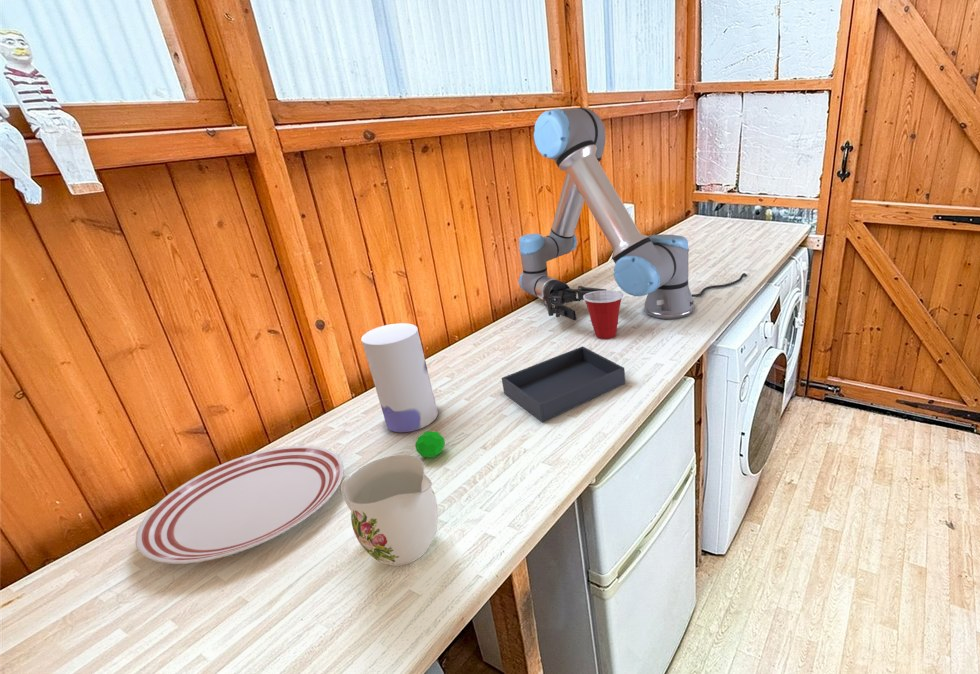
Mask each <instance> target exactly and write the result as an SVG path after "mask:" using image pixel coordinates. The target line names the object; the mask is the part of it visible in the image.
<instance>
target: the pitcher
mask: <svg viewBox="0 0 980 674" xmlns="http://www.w3.org/2000/svg"><path fill="white" fill-rule="evenodd" d="M425 470H426V469H425V463H424V461H423V460H422V459H421V458H419V457H417V456H415V455H411V454H394V455H389V456H384V457H382V458H381V457H380V458H378V459H375V460H373V461H371V462H369V463H367V464H365V465H363V466H362V467H361V468H359V469H358V470H356V471H355V472H354V473H352V474H351V475H348V476H347V477H345V478H344V479H342V480H341V483H340V491H341V494H342V497H343V500H344V502H345V505H346V506H347V508H348V509H349V510H350V522H351V527H352V530H353V534H354V535H355V537H356V539H357V541H358V543H359V544H360V546H361V548H363V549H364V550H365V552H366V553H367V554H368V555H370V556H371V557H372V558H374V559H375V560H376V561H378V562H380V563H382V564H385V565H389V566H392V567H400V566H405V565H408V564H411V563H413V562H415V561H417V560H418V559H420V558H422V556H424V554H425V553H426V552H427V551H428V550H429V548H430V547H431V545H432V543H433V541H434V538H435V536H436V533H437V528H438V523H439V522H438V521H439V507H438V501H437V498H436V494H435V492H434V490H433V488H432V484H433V483H432V481H431V479H430V477H428V476H427V475H426V474H425V473H426V471H425Z"/></svg>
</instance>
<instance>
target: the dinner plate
mask: <svg viewBox="0 0 980 674" xmlns="http://www.w3.org/2000/svg"><path fill="white" fill-rule="evenodd" d="M344 467H345V466H344V463H343V460H342V459H341V458H340V456H339V455H338V454H336V453H335V452H334V451H332V450H330V449H327V448H325V447H320V446H313V445H289V446H288V445H287V446H280V447H274V448H270V449H264V450H261V451H256V452H253V453H250V454H247V455H243V456H241V457H237V458H235V459H232V460H229V461H227V462H224V463H222V464H219V465H217V466H215V467H212V468H211V469H208V470H206V471H205V472H202V473H200V474H199V475H197V476H194V477H193V478H191V479H190V480H188V481H186V482H185V483H183V484H181V485H179V486H178V487H177V488H176V489H174V490H172V491H171V492H169V494H167V495H166V496H165V497H164V498H162V499H161V500H160V501H159V502H157V503H156V504H155V505H154V506H153V507H152V508H151V510H150V511H149V512H148V513H147V514H145V515H146V516H145V517H144V518H143V519H142V521H141V523H140V524H139V526H138V528H137V531H136V535H135V545H136V548H137V550H138V552H139V553H140V554H141V555H142V556H143V557H145V558H147V559H148V560H151V561H153V562H157V563H162V564H169V565H183V564H185V565H186V564H196V563H201V562H208V561H213V560H217V559H221V558H225V557H228V556H232V555H235V554H239V553H241V552H243V551H247V550H249V549H252V548H254V547H257V546H260V545H262V544H263V543H266V542H268V541H271V540H273V539H274V538H276V537H278V536H280V535H282V534H284V533H286V532H287V531H289V530H291V529H292V528H294V527H295V526H297V525H299V524H300V523H301V522H303V521H305V520H306V519H307V518H308V517H310V516H312V515H313V514H314V513H316V512H317V511H318V510H319V509H320V508H321V507H323V506H324V505H325V504H326V503H327V502H328V501H329V500H330V499H331V498H332V496H333V495H334V494H335V492H336V491H337V489H338V488H339V486H340V485H341V483H342V481H343V477H344V472H345V468H344Z"/></svg>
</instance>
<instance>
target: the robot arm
mask: <svg viewBox="0 0 980 674" xmlns="http://www.w3.org/2000/svg"><path fill="white" fill-rule="evenodd" d="M606 138H607V137H606V130H605V125H604V122H603V120H602V119H601V117H600V116H599V114H597V113H596V112H595V111H593V110H592V109H590V108H587V107H573V108H553V109H550V110H545V111H543V112H542V113H540V115H539V116H538V117H537V119H536V121H535V123H534V131H533V139H534V144H535V147H536V149H537V151H538V152H539V153H540V155H541V156H543V157H545V158H547V159H549V160H553V161H554V163H555V164H556V166H557V168H558V169H559V170H560V171H562V172H565V177H564V181H563V184H562V187H561V192H560V195H559V199H558V203H557V205H556V210H555V214H554V217H553V221H552V224H551V228H550V232H549V234H547V235H545V236H543V235H542V234H540V233H528V234H523V235H520V237H519V238H518V244H519V245H518V246H519V247H518V248H519V249H518V250H519V254H520V260H521V267H522V272H521V273H520V275H519V279H518V285H519V287H520V289H521V290H522V291H523V292H525V293H526V294H528V295H530V296H533V297H536V298H538V299H539V300H542V301H543V306H544V307H545V308H546V311H547V313H548V316H549V317H553V316H554V315H555V318H561V317H565V318H567V319H569V320H571V321H573V322H576V321H577V313H576V310H575V309H573V308H570V307H568V306H565V304H569V303H573V302H581V301H585V300H584V299H583V295H585V294H586V293H590V292H594V291H602V290H607V289H606V288H599V287H598V288H597V287H588V286H582V285H578V286H577V289H575V288H571V287H570V286H569V285H568V284H567V283H566V282H564V281H561V280H560V279H557V278H555V277H551V276H549V274H548V265H547V264H548V263H547V262H549V261H552V260H554V259H556V258H560V257H562V256H565V255H568V254H570V253H571V252H573V251H574V250H575V249H576V248H577V246H578V239H577V236H576V229H577V226H578V223H579V220H580V216H581V213H582V210H583V207H584V203H585V204H586V206H587V207H588V210H589V211H590V212H591V215H592V216H593V217H594V220H595V221H596V223H597V225H598V226H599V228H600V230H601V232H602V233H603V235H604V237H605V238H606V240H607V241H608V243H609V244H610V247H611V249H612V255H611V259H612V261H613V263H614V268H613V271H614V273H613V277H614V280H615V282H616V284H617V286H618V287H619V288H620V289H621V290H622V291H623V292H624V293H625V294H627V295H630V296H633V297H644V296H646V297H645V298H646V299H645V301H644V312H645V314H646V315H648V316H649V317H652V318H654V319H660V320H677V319H682V318H686V317H688V316H690V315H692V314H693V313H694V312H695V302H694V298H699V297H701V296H702V295H704V293H705V291H707V290H711V289H717V288H725V287H730V286H733V285H735V284H738V283H739V282H741V281H742V280H743V278H744V277H748V275H747V273H745V272H743V273H742V274H741V275H740V277H739V278H738V279H736V280H734V281H732V282H728V283H725V284H724V283H723V284H714V285H709V286H706V287H704V288H703V289H702V290H701V291H700V292H699V293H693V294H692V292H691V289H690V286H689V251H690V248H689V241H688V239H687V237H685V236H682V235H678V234H664V233H663V234H652V235H650V236H649V235H645V234H642V233H641V231H640V230H639V228H638V227H637V224H636V223H635V222H634V219H633V218H632V216H631V214H630V213H629V211H628V209H627V208H626V205H625V204H624V203H623V200H622V199H621V198H620V195H619V194H618V193H617V191H616V189H615V187H614V186H613V184H612V182H611V180H610V178H609V177H608V175H607V173H606V172H605V170H604V168H603V166H602V165H601V163H600V162H601V160H602V157H603V154H604V151H605V145H606ZM553 306H554V307H553Z"/></svg>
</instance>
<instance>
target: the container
mask: <svg viewBox="0 0 980 674" xmlns="http://www.w3.org/2000/svg"><path fill="white" fill-rule="evenodd" d="M360 339H361V344H362V347H363V351H364V354H365V358H366V360H367V364H368V367H369V371H370V375H371V378H372V381H373V385H374V388H375V390H376V395H377V398H378V401H379V404H380V408H381V412H382V415H383V418H384V421H385V425H386V427H387V429H388V430H390V431H391V432H394V433H410V432H414V431H418V430H421V429H423V428H425V427H427V426H429V425H430V424H431V423H433V422H434V421H435V420H436V419H437V417H438V415H439V410H438V407H437V403H436V399H435V394H434V390H433V387H432V382H431V378H430V374H429V371H428V370H429V369H428V366H427V363H426V359H425V353H424V350H423V345H422V341H421V337H420V334H419V329H418V326H416V325H415V324H412V323H406V322H403V323H402V322H398V323H390V324H385V325H380V326H377V327H375V328H372V329H370V330H369V331H367V332H365V333H364V334H363V335H362V337H361V338H360Z"/></svg>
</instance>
